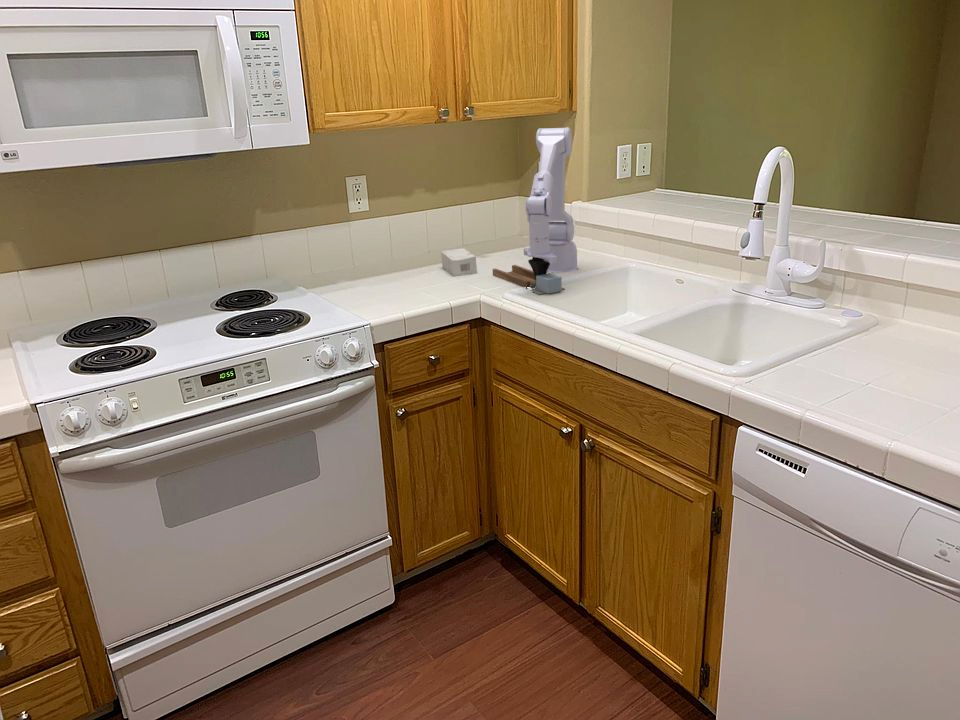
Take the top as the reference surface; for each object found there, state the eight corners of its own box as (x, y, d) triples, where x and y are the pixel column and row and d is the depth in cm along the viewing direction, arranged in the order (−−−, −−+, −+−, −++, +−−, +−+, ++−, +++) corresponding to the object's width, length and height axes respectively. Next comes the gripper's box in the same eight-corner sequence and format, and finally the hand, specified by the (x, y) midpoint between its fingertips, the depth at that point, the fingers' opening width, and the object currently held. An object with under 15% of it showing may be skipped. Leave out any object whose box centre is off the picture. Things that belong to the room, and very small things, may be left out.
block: (549, 286, 215) (549, 273, 214) (561, 290, 210) (561, 277, 209) (536, 289, 213) (536, 275, 212) (547, 293, 208) (547, 280, 207)
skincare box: (452, 260, 230) (439, 250, 243) (454, 278, 232) (441, 267, 245) (477, 256, 232) (463, 246, 245) (478, 274, 235) (464, 263, 248)
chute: (516, 271, 235) (515, 264, 234) (564, 289, 213) (564, 281, 212) (492, 276, 231) (491, 269, 230) (539, 295, 209) (538, 287, 208)
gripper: (514, 235, 214) (516, 280, 219) (541, 243, 202) (542, 290, 207) (534, 232, 217) (535, 276, 222) (562, 239, 205) (563, 286, 210)
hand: (540, 282), depth 215 cm, fingers closed
